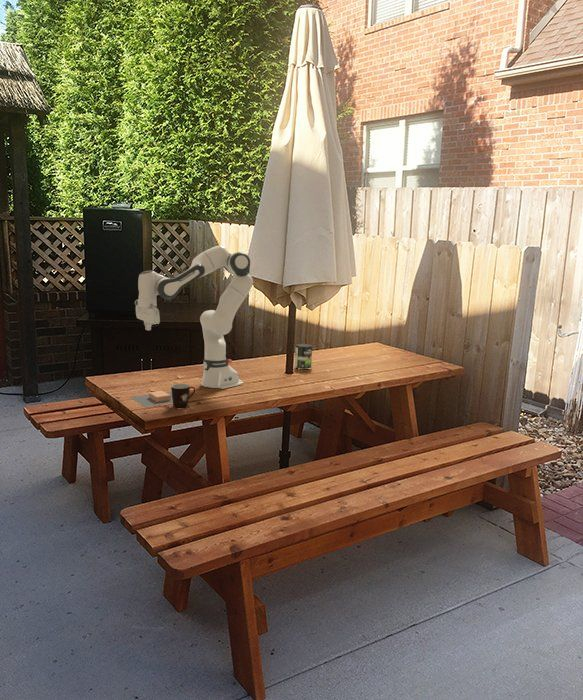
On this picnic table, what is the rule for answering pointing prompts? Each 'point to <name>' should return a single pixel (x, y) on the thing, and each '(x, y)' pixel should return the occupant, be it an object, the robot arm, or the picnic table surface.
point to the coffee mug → (180, 395)
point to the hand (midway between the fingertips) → (148, 330)
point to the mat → (150, 400)
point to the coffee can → (303, 356)
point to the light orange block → (159, 396)
